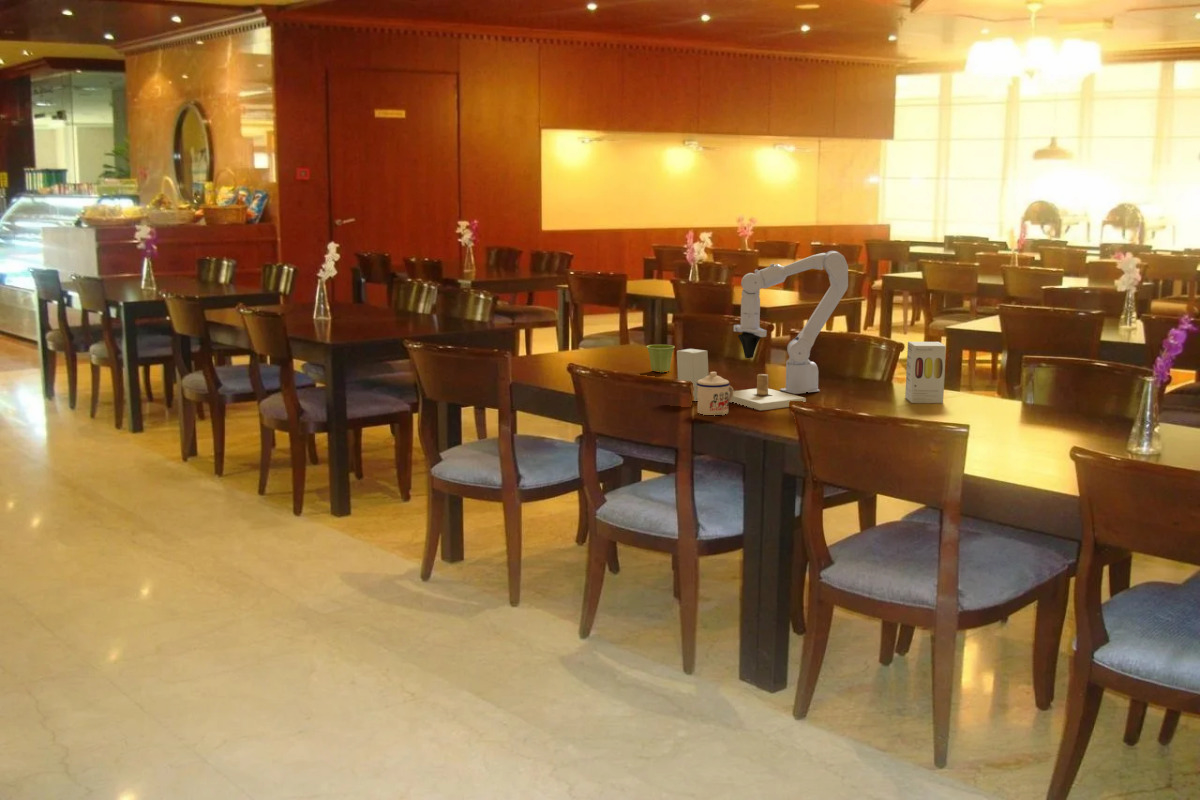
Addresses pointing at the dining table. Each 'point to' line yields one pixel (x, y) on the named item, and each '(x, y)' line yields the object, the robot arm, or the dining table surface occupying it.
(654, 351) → the plant pot
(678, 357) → the skincare box
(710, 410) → the teacup with lid
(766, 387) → the peg
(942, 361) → the supplement box
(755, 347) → the robot arm
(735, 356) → the dining table surface
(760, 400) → the board
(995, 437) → the dining table surface
